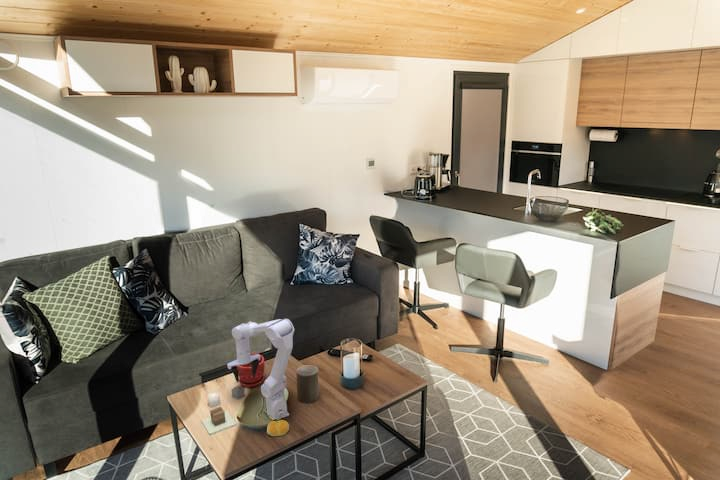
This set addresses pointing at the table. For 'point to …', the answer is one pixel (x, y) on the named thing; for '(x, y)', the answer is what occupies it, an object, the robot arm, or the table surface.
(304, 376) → the pillar candle
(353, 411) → the table surface
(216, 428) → the plate
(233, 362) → the robot arm
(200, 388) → the table surface
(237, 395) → the grey metal block
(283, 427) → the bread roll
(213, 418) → the walnut block
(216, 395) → the white rounded dome
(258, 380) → the plant pot
